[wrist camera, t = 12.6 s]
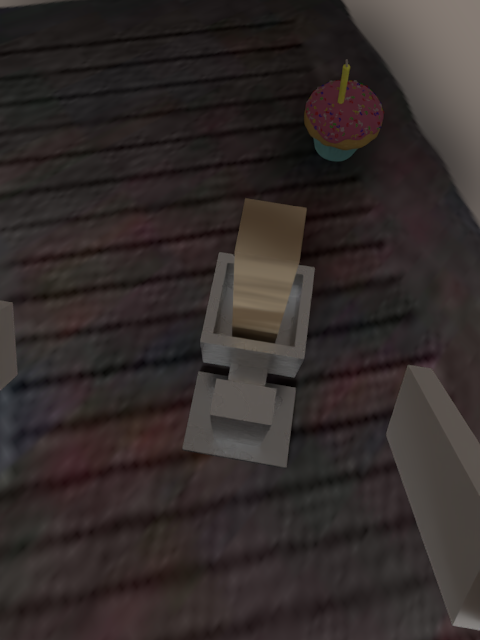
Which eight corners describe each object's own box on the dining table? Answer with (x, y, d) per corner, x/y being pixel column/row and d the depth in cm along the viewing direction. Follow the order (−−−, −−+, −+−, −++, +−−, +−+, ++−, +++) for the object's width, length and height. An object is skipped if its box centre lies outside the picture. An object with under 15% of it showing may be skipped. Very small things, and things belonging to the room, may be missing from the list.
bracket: (285, 468, 39) (308, 453, 28) (183, 450, 40) (166, 428, 29) (303, 318, 45) (329, 255, 34) (213, 303, 45) (209, 236, 34)
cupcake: (334, 186, 51) (364, 97, 40) (282, 141, 53) (297, 45, 42) (385, 148, 53) (427, 54, 42) (333, 106, 56) (360, 7, 44)
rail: (273, 347, 37) (299, 261, 24) (231, 339, 37) (234, 251, 24) (279, 308, 38) (306, 208, 26) (238, 301, 39) (245, 198, 26)
